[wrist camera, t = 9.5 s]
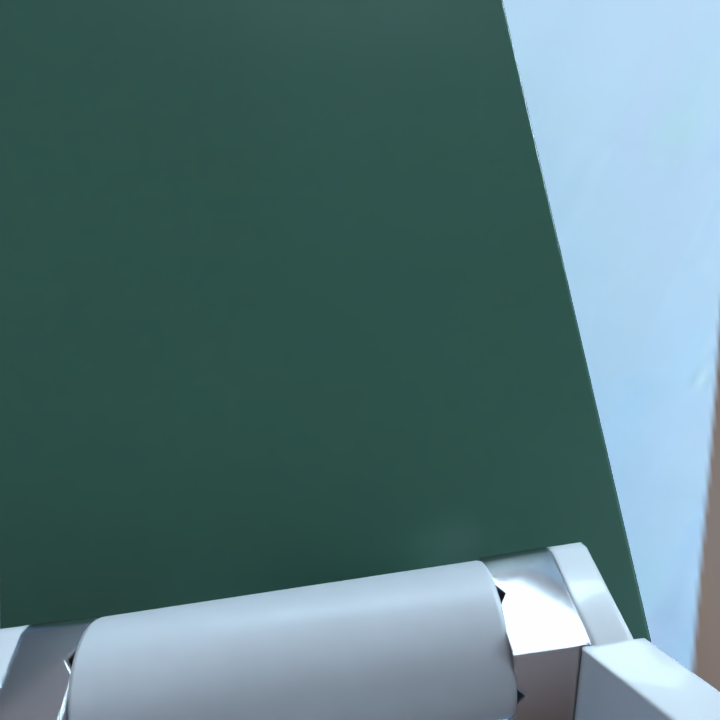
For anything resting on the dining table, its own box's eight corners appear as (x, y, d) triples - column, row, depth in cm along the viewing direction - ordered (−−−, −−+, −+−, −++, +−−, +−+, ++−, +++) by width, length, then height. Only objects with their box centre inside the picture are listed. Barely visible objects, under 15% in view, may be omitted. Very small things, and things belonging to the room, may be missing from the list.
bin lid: (646, 671, 13) (848, 787, 8) (20, 768, 13) (-244, 959, 7) (470, -101, 18) (516, -384, 12) (3, -39, 17) (-170, -299, 12)
